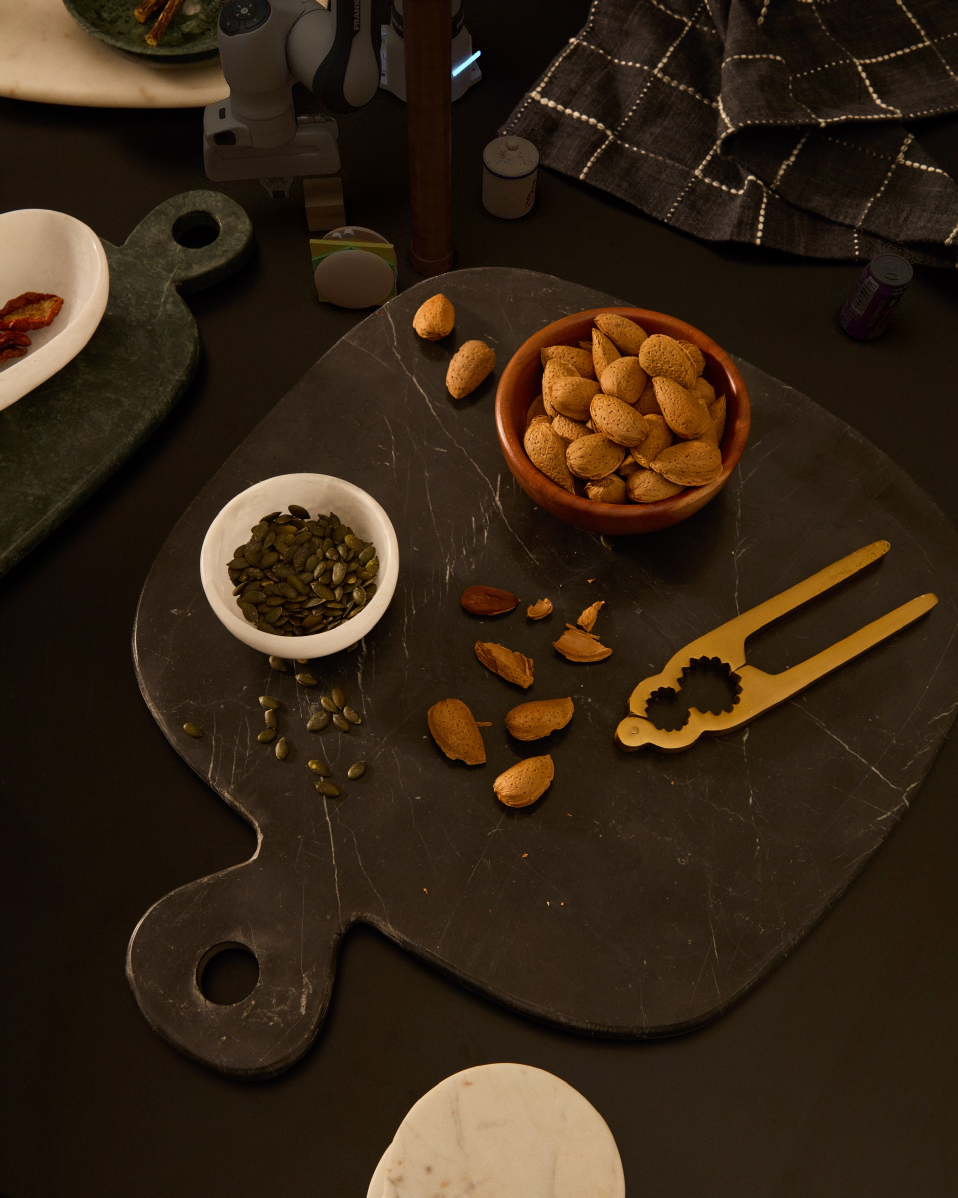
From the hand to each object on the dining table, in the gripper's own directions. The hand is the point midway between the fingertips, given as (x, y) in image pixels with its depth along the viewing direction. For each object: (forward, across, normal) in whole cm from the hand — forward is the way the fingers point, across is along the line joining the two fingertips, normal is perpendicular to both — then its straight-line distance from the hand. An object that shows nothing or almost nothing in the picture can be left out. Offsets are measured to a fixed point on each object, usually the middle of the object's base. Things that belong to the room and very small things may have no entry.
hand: (279, 195), depth 153 cm
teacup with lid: (+5, -37, -2) cm, 37 cm away
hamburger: (+6, -11, +17) cm, 21 cm away
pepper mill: (+5, -23, +11) cm, 26 cm away
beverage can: (+6, -88, +31) cm, 93 cm away
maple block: (+5, -7, 0) cm, 9 cm away
